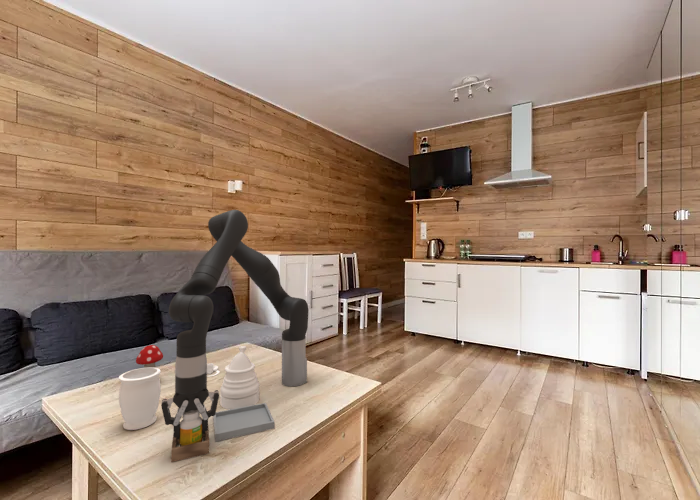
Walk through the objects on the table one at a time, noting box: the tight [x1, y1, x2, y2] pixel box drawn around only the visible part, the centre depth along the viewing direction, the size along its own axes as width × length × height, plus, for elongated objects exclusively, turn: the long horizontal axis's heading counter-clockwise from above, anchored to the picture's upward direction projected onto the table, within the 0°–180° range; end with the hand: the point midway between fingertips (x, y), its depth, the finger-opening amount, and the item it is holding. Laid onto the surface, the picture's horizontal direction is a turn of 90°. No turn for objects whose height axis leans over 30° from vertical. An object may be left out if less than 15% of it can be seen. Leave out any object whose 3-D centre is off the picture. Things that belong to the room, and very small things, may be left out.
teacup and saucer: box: [207, 362, 220, 378], centre depth 139 cm, size 9×8×4 cm
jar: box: [118, 367, 162, 431], centre depth 99 cm, size 11×10×15 cm
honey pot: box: [219, 345, 261, 410], centre depth 114 cm, size 13×13×18 cm
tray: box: [212, 402, 275, 443], centre depth 99 cm, size 16×13×2 cm
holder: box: [170, 427, 210, 463], centre depth 87 cm, size 9×9×3 cm
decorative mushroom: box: [135, 344, 164, 368], centre depth 127 cm, size 10×9×15 cm
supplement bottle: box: [179, 410, 203, 447], centre depth 87 cm, size 5×5×10 cm
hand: (191, 434), depth 87 cm, fingers closed on supplement bottle, 5 cm apart
